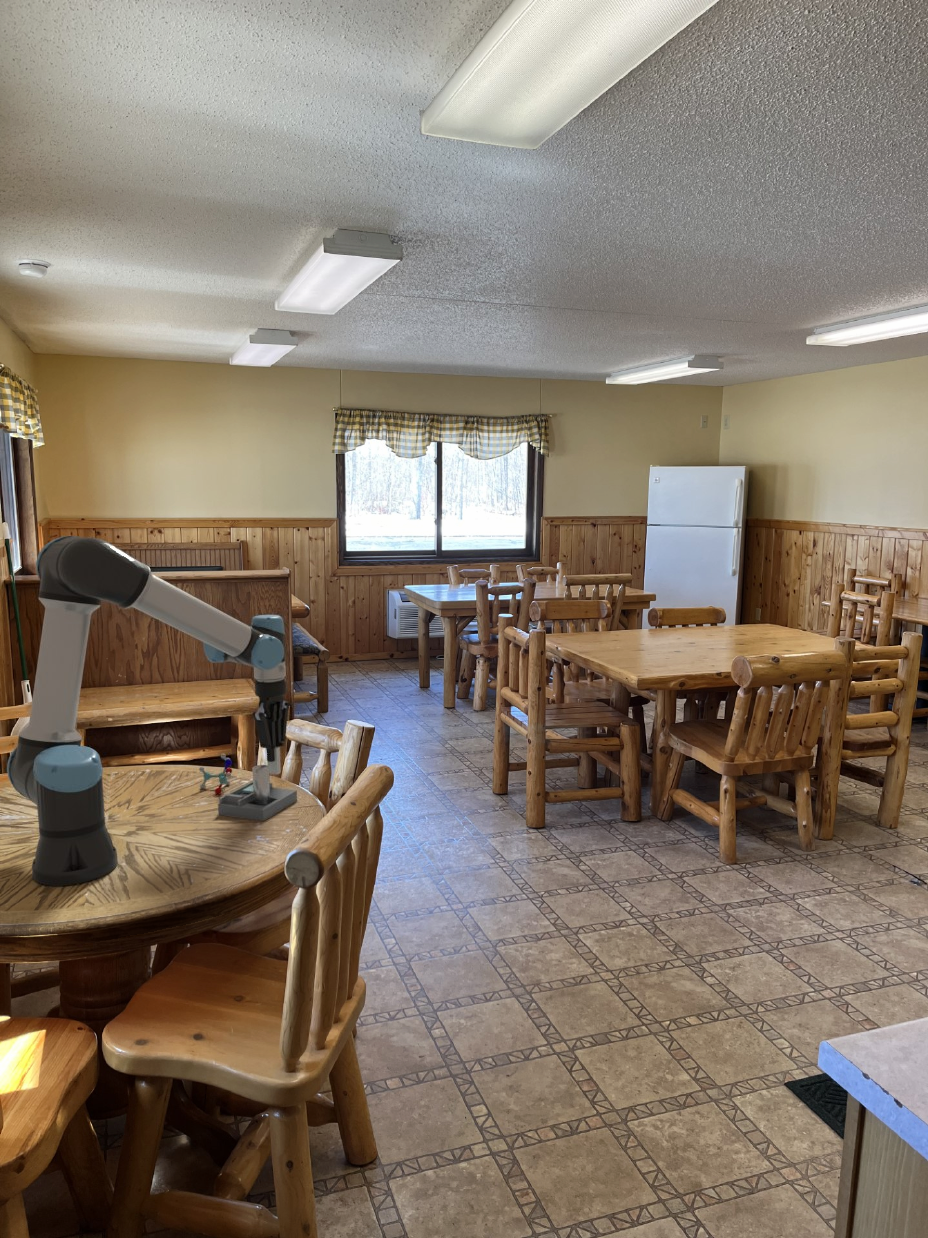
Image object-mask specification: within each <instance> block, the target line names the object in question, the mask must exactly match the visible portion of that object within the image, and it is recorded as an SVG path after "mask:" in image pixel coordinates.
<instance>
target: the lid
mask: <svg viewBox="0 0 928 1238" xmlns="http://www.w3.org/2000/svg"><path fill="white" fill-rule="evenodd" d="M270 775H271V774H270V773H269V783H271V779H270V778H271V777H270ZM243 793H250V794H251V793H253V785H251V786H249V787H247V788H246V789H244V790H243Z"/></svg>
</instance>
